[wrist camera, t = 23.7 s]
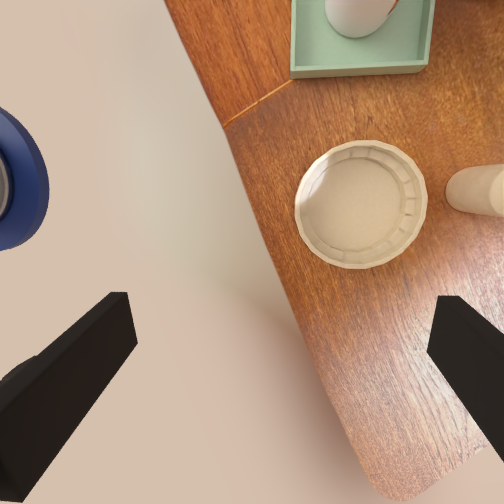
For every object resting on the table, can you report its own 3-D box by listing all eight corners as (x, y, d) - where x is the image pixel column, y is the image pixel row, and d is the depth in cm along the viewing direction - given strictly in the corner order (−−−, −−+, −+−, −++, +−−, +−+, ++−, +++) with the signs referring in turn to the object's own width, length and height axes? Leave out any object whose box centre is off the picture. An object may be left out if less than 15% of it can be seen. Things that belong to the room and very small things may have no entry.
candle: (461, 220, 37) (522, 232, 28) (435, 187, 37) (488, 188, 27) (501, 191, 36) (580, 193, 26) (475, 157, 35) (546, 146, 26)
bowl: (292, 259, 41) (293, 267, 37) (295, 146, 38) (296, 141, 34) (405, 262, 39) (418, 270, 35) (419, 143, 36) (435, 138, 32)
